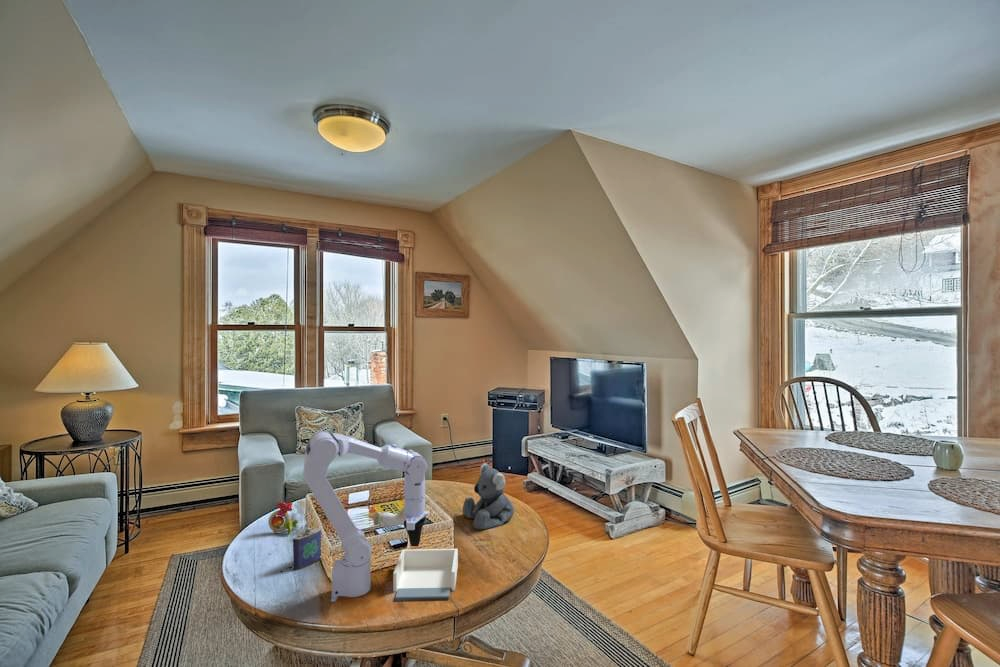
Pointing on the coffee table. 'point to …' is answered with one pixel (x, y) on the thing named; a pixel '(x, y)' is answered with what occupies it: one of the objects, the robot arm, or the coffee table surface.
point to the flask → (307, 548)
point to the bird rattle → (278, 521)
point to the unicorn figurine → (389, 518)
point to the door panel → (422, 594)
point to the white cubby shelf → (426, 569)
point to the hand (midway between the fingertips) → (415, 545)
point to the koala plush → (489, 500)
